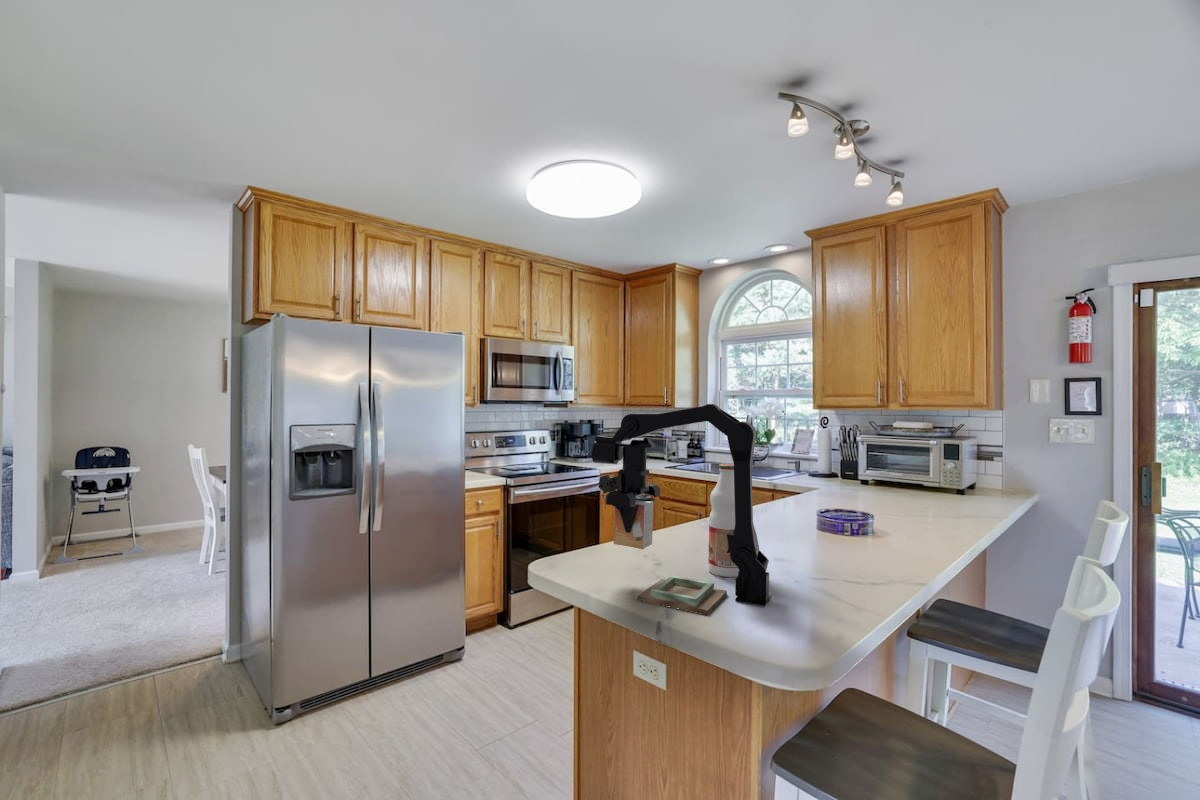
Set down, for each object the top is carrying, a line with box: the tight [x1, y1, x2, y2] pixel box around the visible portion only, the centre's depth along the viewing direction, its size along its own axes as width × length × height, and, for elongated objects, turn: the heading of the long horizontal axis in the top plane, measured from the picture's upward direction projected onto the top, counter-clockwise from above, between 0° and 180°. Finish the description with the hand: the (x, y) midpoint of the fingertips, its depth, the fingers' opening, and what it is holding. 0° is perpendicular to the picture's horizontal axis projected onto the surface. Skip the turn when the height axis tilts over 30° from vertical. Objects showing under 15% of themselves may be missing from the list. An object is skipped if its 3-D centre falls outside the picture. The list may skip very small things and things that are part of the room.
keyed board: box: [636, 575, 728, 616], centre depth 125 cm, size 16×14×2 cm
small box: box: [613, 500, 654, 550], centre depth 134 cm, size 8×6×10 cm
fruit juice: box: [707, 463, 739, 578], centre depth 144 cm, size 9×9×28 cm
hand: (633, 530), depth 134 cm, fingers closed on small box, 6 cm apart
